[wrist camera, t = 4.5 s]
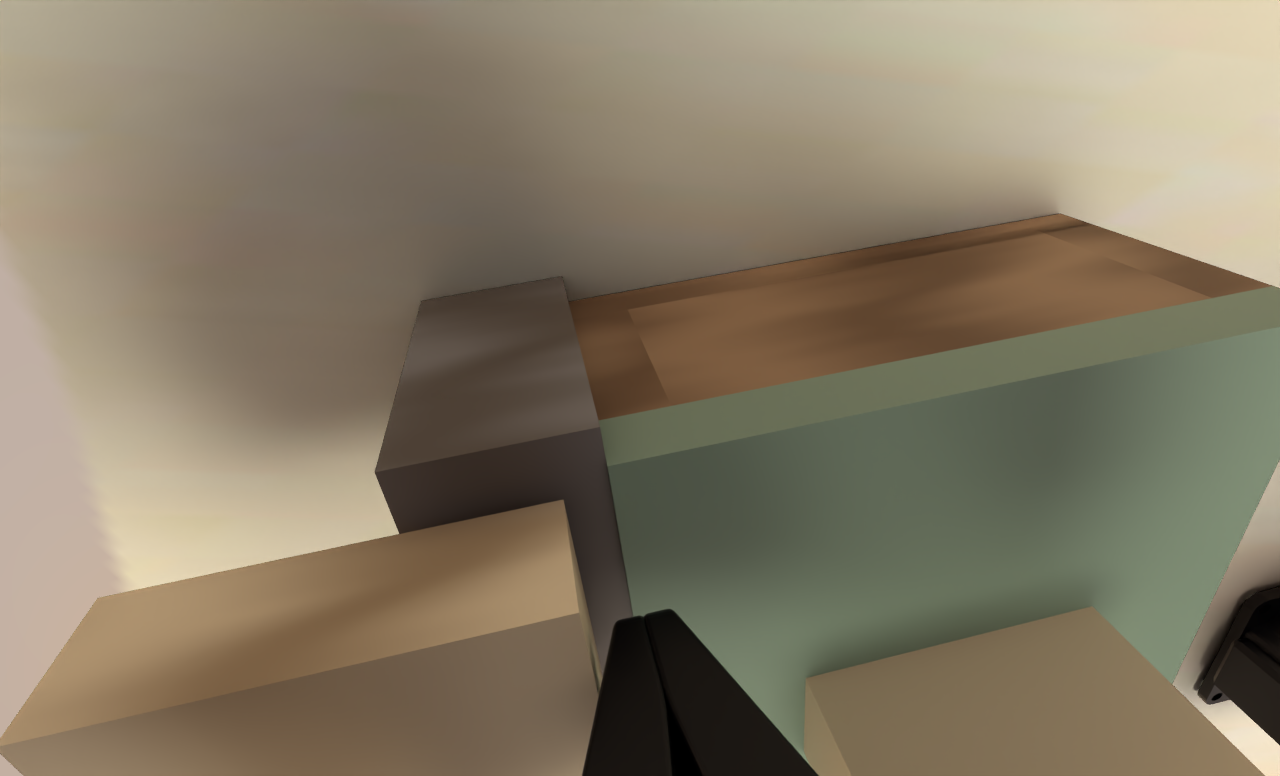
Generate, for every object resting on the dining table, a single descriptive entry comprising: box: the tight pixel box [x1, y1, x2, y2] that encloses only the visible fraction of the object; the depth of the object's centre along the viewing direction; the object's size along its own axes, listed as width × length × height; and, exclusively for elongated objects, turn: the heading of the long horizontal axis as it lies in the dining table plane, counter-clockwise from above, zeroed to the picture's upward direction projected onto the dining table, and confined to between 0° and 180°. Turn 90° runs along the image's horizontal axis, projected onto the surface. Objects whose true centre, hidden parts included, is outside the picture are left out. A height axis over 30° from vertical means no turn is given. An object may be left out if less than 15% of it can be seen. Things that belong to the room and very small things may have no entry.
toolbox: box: [375, 214, 1272, 678], centre depth 16 cm, size 15×15×6 cm
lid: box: [599, 286, 1280, 776], centre depth 12 cm, size 12×14×5 cm
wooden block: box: [0, 500, 602, 776], centre depth 9 cm, size 6×4×2 cm, turn 96°
